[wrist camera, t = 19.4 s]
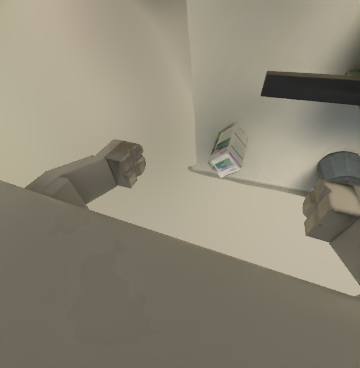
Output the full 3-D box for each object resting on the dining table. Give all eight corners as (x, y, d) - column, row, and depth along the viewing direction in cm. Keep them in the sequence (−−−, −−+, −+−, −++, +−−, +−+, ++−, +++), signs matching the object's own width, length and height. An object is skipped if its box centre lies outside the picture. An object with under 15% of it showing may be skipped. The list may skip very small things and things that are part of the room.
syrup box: (236, 121, 48) (226, 152, 39) (248, 137, 50) (241, 171, 41) (219, 132, 52) (206, 162, 43) (230, 147, 54) (221, 179, 45)
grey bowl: (299, 174, 53) (305, 233, 40) (352, 131, 41) (387, 195, 28) (328, 188, 52) (345, 252, 40) (391, 150, 41) (443, 223, 28)
